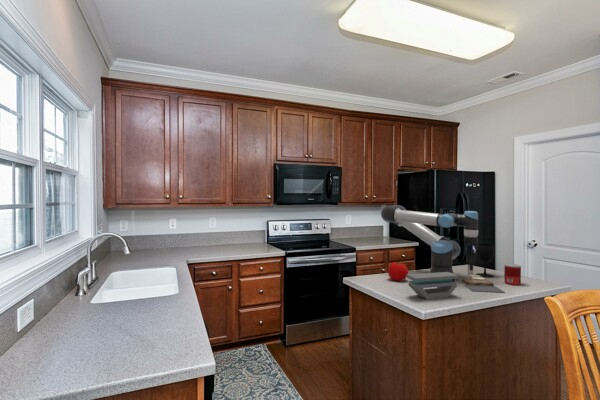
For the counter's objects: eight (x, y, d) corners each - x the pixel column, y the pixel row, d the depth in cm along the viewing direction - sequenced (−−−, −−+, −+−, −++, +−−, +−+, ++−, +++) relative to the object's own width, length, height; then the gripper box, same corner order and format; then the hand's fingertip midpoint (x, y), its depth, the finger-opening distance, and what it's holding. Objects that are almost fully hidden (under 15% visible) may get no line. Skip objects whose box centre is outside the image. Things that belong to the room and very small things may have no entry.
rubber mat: (472, 291, 172) (472, 290, 172) (465, 285, 183) (465, 285, 183) (504, 292, 170) (504, 292, 170) (495, 287, 181) (495, 286, 181)
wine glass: (474, 276, 206) (475, 244, 206) (476, 273, 214) (477, 243, 214) (493, 278, 200) (494, 246, 200) (495, 275, 208) (495, 244, 208)
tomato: (384, 278, 199) (384, 260, 199) (400, 277, 202) (400, 259, 202) (395, 283, 188) (395, 264, 188) (412, 282, 191) (412, 263, 191)
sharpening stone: (447, 292, 171) (447, 271, 170) (458, 296, 163) (458, 275, 163) (406, 295, 164) (406, 274, 164) (415, 300, 156) (416, 278, 156)
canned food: (523, 286, 183) (523, 266, 183) (507, 285, 185) (507, 266, 185) (517, 282, 191) (517, 263, 191) (502, 281, 193) (502, 263, 192)
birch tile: (485, 282, 182) (485, 279, 182) (474, 282, 183) (474, 278, 183) (479, 278, 191) (479, 275, 191) (468, 278, 192) (468, 275, 192)
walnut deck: (467, 285, 183) (467, 282, 183) (461, 281, 193) (461, 278, 193) (493, 287, 181) (493, 283, 181) (486, 282, 191) (486, 279, 191)
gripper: (481, 237, 189) (481, 277, 190) (473, 235, 202) (473, 272, 202) (468, 237, 190) (467, 277, 191) (460, 235, 203) (460, 272, 204)
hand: (470, 275), depth 197 cm, fingers closed
